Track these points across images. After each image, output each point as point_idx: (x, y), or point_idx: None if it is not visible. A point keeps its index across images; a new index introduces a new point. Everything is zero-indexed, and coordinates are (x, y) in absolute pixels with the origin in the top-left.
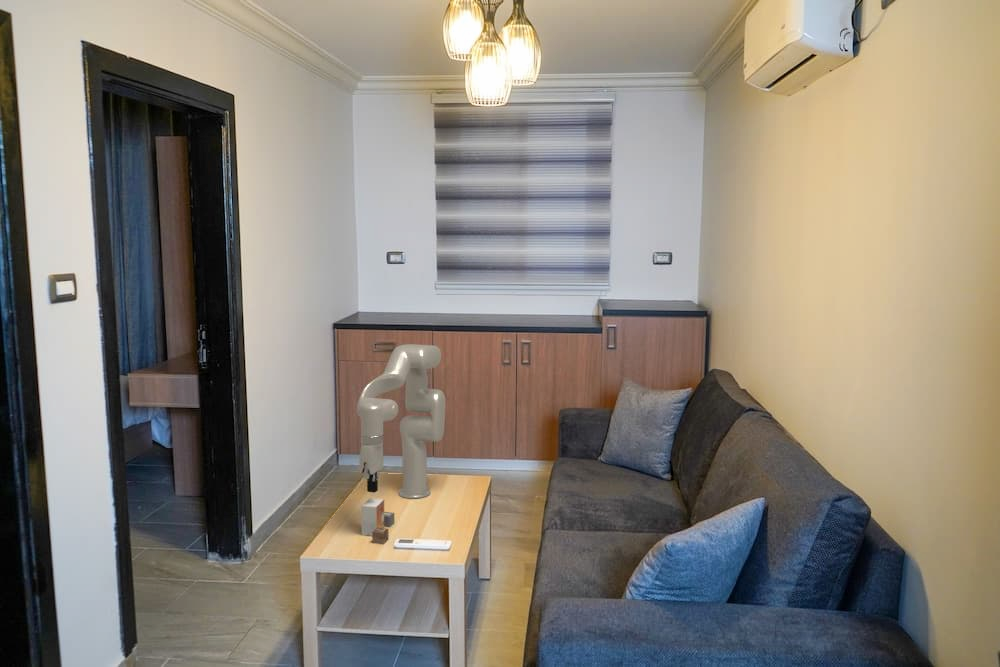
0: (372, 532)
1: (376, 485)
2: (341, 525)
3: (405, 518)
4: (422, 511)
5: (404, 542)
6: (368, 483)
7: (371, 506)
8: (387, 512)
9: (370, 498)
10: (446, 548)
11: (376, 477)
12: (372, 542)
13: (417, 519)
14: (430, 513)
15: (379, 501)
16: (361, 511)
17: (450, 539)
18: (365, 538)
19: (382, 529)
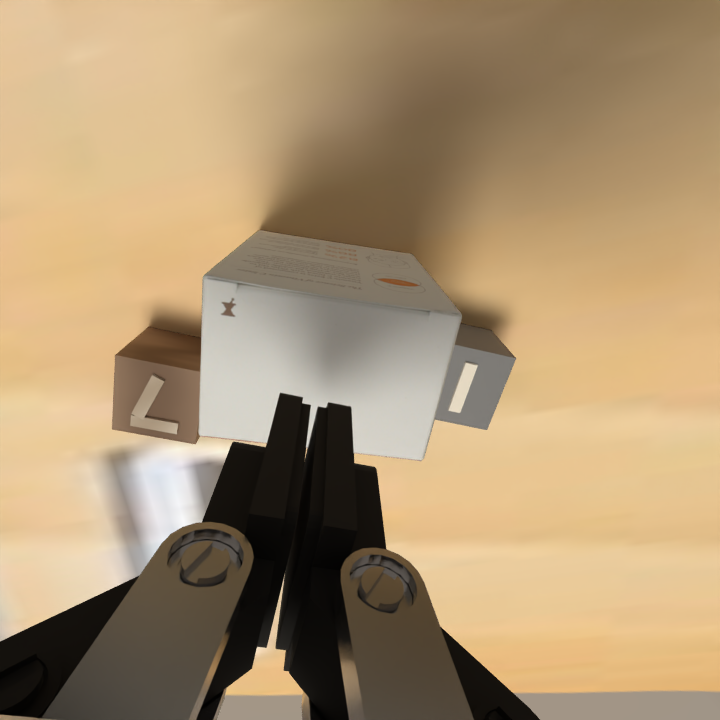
0: (116, 354)
1: (286, 575)
2: (434, 8)
3: (543, 439)
4: (641, 504)
5: (197, 488)
6: (209, 510)
7: (202, 388)
8: (497, 384)
9: (452, 326)
10: None
11: (302, 716)
12: (147, 328)
13: (522, 498)
14: (603, 543)
15: (355, 435)
16: (218, 263)
17: (271, 650)
18: (209, 267)
19: (174, 411)
